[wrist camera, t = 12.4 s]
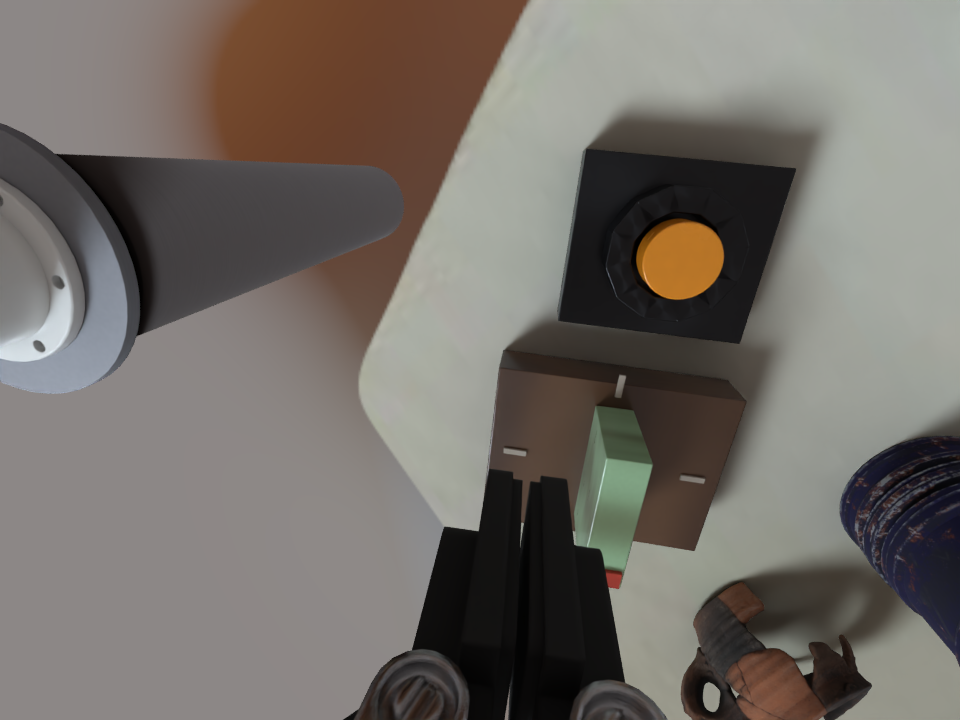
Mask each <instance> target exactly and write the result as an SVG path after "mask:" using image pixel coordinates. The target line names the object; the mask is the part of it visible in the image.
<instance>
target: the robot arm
mask: <svg viewBox="0 0 960 720" xmlns="http://www.w3.org/2000/svg"><path fill="white" fill-rule="evenodd" d="M84 313H85V292H84V287H83V282H82V277H81V273H80V271H79V268H78V265H77V262H76V260H75V257H74V255H73V253H72V251H71V250H70V248H69V246H68V244H67V242H66V240H65V239H64V237H63V236H62V234H61V233H60V232H59V230H58V229H57V227H56V226H55V225H54V223H53V222H52V221H51V220H50V218H49V217H48V216H47V215H46V214H45V213H44V212H43V211H42V210H41V209H40V208H39V207H38V205H37V204H35V203H34V202H33V201H32V200H31V199H29V198H28V197H27V196H26V195H25V194H23V193H22V192H21V191H20V190H18V189H17V188H15V187H14V186H12V185H10V184H9V183H7V182H5V181H4V180H2V179H0V359H5V360H9V361H20V362H28V361H34V360H40V359H43V358H45V357H48V356H51V355H53V354H56V353H58V352H60V351H61V350H63V349H64V348H66V347H68V346H69V344H70V343H71V342H72V341H73V340H74V339H75V338H76V336H77V334H78V332H79V330H80V328H81V326H82V323H83V318H84ZM522 487H523V480H519V479H513V472H511V471H504V470H497V469H489V470H488V476H487V482H486V489H485V495H484V501H483V508H482V514H481V520H480V527H479V531H472V530H465V529H458V528H451V527H444V529H443V532H442V536H441V540H440V544H439V548H438V552H437V555H436V559H435V563H434V567H433V571H432V575H431V579H430V583H429V586H428V590H427V594H426V598H425V602H424V606H423V610H422V613H421V618H420V621H419V625H418V629H417V633H416V637H415V641H414V645H413V648H412V651H407V652H405V653H403V654H401V655H398V656H396V657H394V658H392V659H391V660H390V661H389V662H388V663H387V664H385V665H384V666H383V667H382V668H381V669H380V670H379V672H378V674H377V675H376V676H375V678H374V680H373V681H372V683H371V685H370V687H369V689H368V691H367V693H366V695H365V697H364V700H363V702H362V704H361V706H360V708H359V709H358V710H357V711H355V712H354V713H353V714H351V715H350V716H348V717H347V718H345V719H344V720H504V719H505V712H506V706H507V699H508V694H509V688H510V697H509V717H508V720H667V718H666V716H665V715H664V713H663V712H662V711H661V710H660V709H659V707H658V706H657V705H656V704H655V703H654V701H653V700H651V699H650V698H649V697H648V696H646V695H645V694H644V693H643V692H641V691H640V690H639V689H637V688H635V687H633V686H630V685H628V684H626V683H625V679H624V673H623V668H622V662H621V656H620V651H619V645H618V639H617V634H616V628H615V622H614V617H613V611H612V605H611V600H610V594H609V588H608V583H607V577H606V571H605V566H604V560H603V555H602V552H601V550H600V549H597V548H590V547H583V546H576V545H574V539H573V530H572V520H571V511H570V501H569V491H568V482H567V479H564V478H556V477H549V476H541V477H540V482H534V481H530V486H529V492H528V499H527V506H526V513H525V519H524V526H523V533H522V540H521V546H520V536H521V512H522Z"/></svg>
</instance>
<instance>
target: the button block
mask: <svg viewBox="0 0 960 720" xmlns="http://www.w3.org/2000/svg"><path fill="white" fill-rule="evenodd" d="M795 172H796V169H795V168H786V167H775V166H764V165H754V164H743V163H732V162H722V161H711V160H700V159H690V158H679V157H668V156H658V155H647V154H637V153H626V152H615V151H605V150H594V149H586V150H584V151H583V155H582V161H581V167H580V174H579V180H578V186H577V192H576V198H575V205H574V211H573V217H572V223H571V229H570V236H569V242H568V248H567V254H566V261H565V267H564V273H563V279H562V285H561V292H560V298H559V304H558V321H563V322H571V323H579V324H587V325H595V326H603V327H610V328H618V329H626V330H634V331H642V332H650V333H658V334H666V335H674V336H681V337H689V338H697V339H705V340H713V341H721V342H729V343H737V344H739V343H740V341H741V338H742V335H743V331H744V328H745V325H746V322H747V319H748V316H749V313H750V310H751V307H752V304H753V301H754V298H755V295H756V292H757V288H758V285H759V282H760V279H761V276H762V273H763V270H764V267H765V264H766V261H767V258H768V255H769V252H770V248H771V245H772V242H773V239H774V236H775V233H776V230H777V227H778V224H779V221H780V218H781V215H782V212H783V209H784V205H785V202H786V199H787V196H788V193H789V190H790V187H791V184H792V181H793V178H794V175H795ZM677 218H682V219H689V220H692V221H695V222H698V223H701V224H704V225H706V226H708V227H709V228H711V229H712V230H713V231H714V232H715V233H716V234H717V235H718V237H719V238H720V240H721V242H722V245H723V249H724V262H723V266H722V269H721V272H720V274H719V276H718V277H717V279H716V280H715V282H714V283H713V284H712V285H711V286H710V287H709V288H708V289H706V290H705V291H704V292H702V293H700V294H699V295H696V296H694V297H691V298H687V299H680V300H676V299H668V298H665V297H662V296H660V295H658V294H657V293H655V292H654V291H653V290H652V289H651V288H650V287H649V286H648V285H647V284H646V282H645V281H644V280H643V279H642V277H641V276H640V274H639V272H638V268H637V263H636V256H637V251H638V247H639V245H640V243H641V241H642V239H643V238H644V236H645V235H646V234H647V233H648V232H649V231H650V230H651V229H652V228H653V227H655V226H656V225H658V224H659V223H662V222H664V221H667V220H670V219H677Z"/></svg>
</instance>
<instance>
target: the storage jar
mask: <svg viewBox="0 0 960 720" xmlns="http://www.w3.org/2000/svg"><path fill="white" fill-rule="evenodd" d="M840 517H841V522H842V524H843V527H844V529H845V531H846V532H847V533H848V535H849V536H850V537H851V539H852V540H853V541H854V542H855V543H856V544H857V545H858V546H859V547H860V549H861V550H862V551H863V553H864V554H865V555H866V557H867V559H868V561H869V562H870V564H871V565H872V567H873V568H874V569H875V570H876V572H877V573H878V574H879V575H880V576H881V578H882V579H883V580H884V581H885V582H886V583H887V584H888V585H889V586H890V587H891V588H893V589H894V590H895V592H896V593H897V594H898V595H899V596H900V598H901V599H902V600H903V601H904V602H905V604H906V605H908V606H909V607H910V608H911V609H912V610H913V611H914V612H916V613H917V614H919V615H920V616H922V617H923V618H924V619H925V621H926V622H927V623H928V624H929V625H930V626H931V628H932V629H933V630H934V631H935V632H936V634H937V635H938V636H939V637H940V638H941V639H942V641H943V642H944V643H945V644H946V645H947V647H948V648H949V649H950V650H951V651H952V652H953V654H954V655H955V656H956V659H957V661H958V664H959V666H960V437H955V436H934V437H925V438H920V439H915V440H911V441H907V442H905V443H902V444H899V445H896V446H894V447H892V448H889V449H887V450H885V451H883V452H881V453H880V454H878V455H877V456H875V457H874V458H872V459H870V460H869V461H868V462H867V463H866V464H864V465H863V466H862V467H861V468H860V469H859V470H858V471H857V472H856V473H855V474H854V475H853V477H852V478H851V480H850V481H849V482H848V484H847V485H846V488H845V490H844V492H843V494H842V498H841V502H840Z"/></svg>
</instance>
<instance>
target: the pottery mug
mask: <svg viewBox="0 0 960 720" xmlns="http://www.w3.org/2000/svg"><path fill="white" fill-rule="evenodd" d="M763 610H764V604H763V603H762V601H761V600H760V599H759V598H758V597H757V596H755V595H754V594H753V593H752V591H751V590H750V589H749V588H748V587H747V586H746V585H745V584H744V583H743V582H740V583H738V584H736V585H733V586H731V587H730V588H728V589H726V590H724V591H723V592H722V593H721V594H719V595H718V596H717V597H715V598H714V599H713V600H712V601H710V602H709V603H708V604H705V605H704V607H703V608H702V609H701V610H700V611H699V612H698V613H697V615H696V617H695V619H694V623H693V625H694V628H695V630H696V633H697V636H698V640H699V644H700V646H701V647H698V649H697V654H696V657H695V659H694V661H693V662H692V664H691V665H690V666H689V667H688V669H687V671H686V672H685V674H684V677H683V680H682V686H681V700H682V704H683V706H684V712H685V713H686V714H688V715H689V716H690V717H691V718H692V720H819V719H820V718H822V717H824V719H825V720H835V719H837V718H838V717H839V716H841V715H842V714H844V713H845V712H846V711H847V710H848V709H851V708H852V707H853V706H854V705H855V704H857V703H858V702H859V701H860V700H861V699H862V698H864V696H866V695H867V693H868V691H869V690H870V689H871V687H872V685H871V683H869V682H868V681H866V680H865V679H864V678H863V677H862V676H861V674H860V673H859V672H858V671H857V666H856V664H855V657H854V655H853V651H852V648H851V646H850V644H849V643H848V641H847V639H846V638H845V636H843V635H839V637H838V638H839V641H840V644H841V646H842V651H843V655H842V657H841V655H840V654H838V653H837V652H835V651H833V650H831V648H830V647H829V646H828V645H827V644H826V643H823V642H811V643H809V649H810V651H811V653H812V655H813V657H814V660H813V665H814V669H813V673H810V674H807V675H804V676H803V675H802V673H801V671H800V669H799V668H798V666H797V664H796V662H795V661H794V659H793V658H792V657H791V656H789V655H788V654H787V653H785V652H784V651H782V650H780V649H777V648H769V649H766V648H765V646H764V645H763V644H762V643H761V642H760V641H759V640H757V639H756V638H755V637H754V636H753V635H752V634H751V633H750V632H749V631H748V629H747V628H746V626H745V624H746V623H748V621H749V620H750V619H751V618H753V617H754V616H755V615H757V614H758V613H759V612H761V611H763ZM708 682H710V683H712V684H714V685H715V686H716V687H717V688H718V689H719V690H720V703H719V707H718V709H717V710H716V711H715V712H710V711H708V710H707V709H706V708H705V706H704V703H703V689H704V685H705V684H706V683H708ZM730 685H731V687H732V688H733V689H734V690H735V691H736V692H737V693H739V695H738V696H737V699H736V697H735V696H734V694H733V692H732V690H731V687H730Z"/></svg>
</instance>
